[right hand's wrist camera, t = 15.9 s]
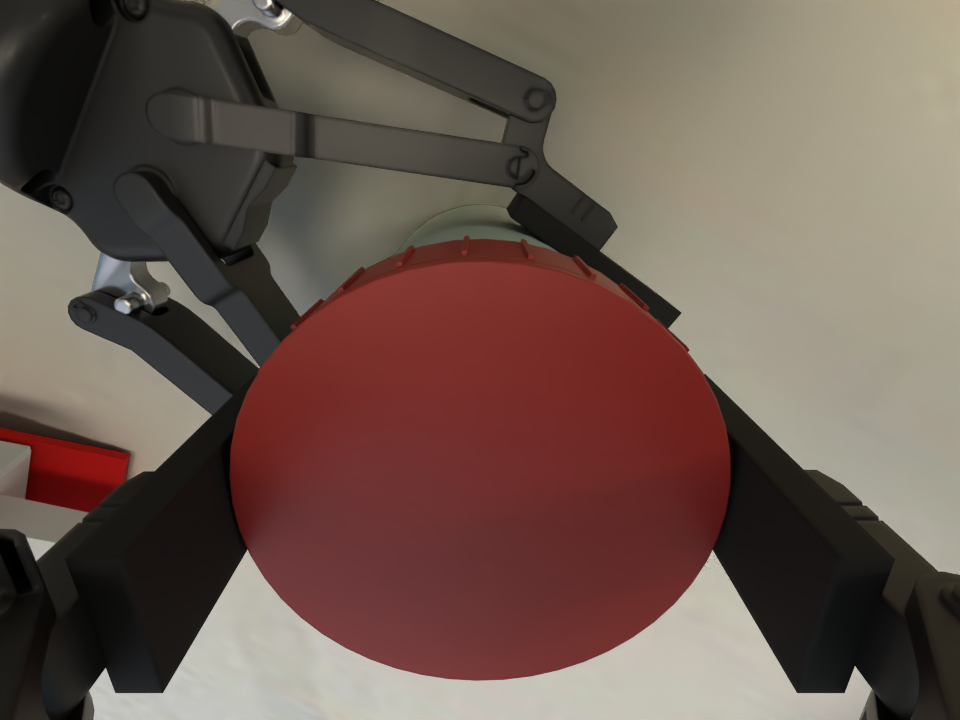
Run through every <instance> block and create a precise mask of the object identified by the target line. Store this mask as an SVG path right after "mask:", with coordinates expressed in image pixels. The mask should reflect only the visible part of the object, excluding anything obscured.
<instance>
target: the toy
mask: <svg viewBox="0 0 960 720" xmlns="http://www.w3.org/2000/svg"><path fill="white" fill-rule="evenodd" d="M129 456H130V454H127V453H123V452H118V451H113V450H108V449H103V448H98V447H93V446H88V445H83V444H78V443H73V442H69V441H64V440H59V439H54V438H49V437H44V436H39V435H34V434H29V433H24V432H20V431H15V430H10V429H5V428H0V529H16V530H18V531H20V532H21V533H23V534H25V535H26V538H27V540H28V543H29V545H30V548H31V550H32V553H33V555H34V557H35V560H36V561H37V560H38V559H39V558H40V557H41V556H42V555H43V554H44V553H46V552H47V551H48V550H49V549H50V548H51V547H52V546H53V545H54V544H55V543H56V542H58V541H59V540H60V539H61V538H62V537H63V536H64V535H65V534H66V533H67V532H69V531H70V530H71V529H72V528H73V527H74V526H75V525H76V524H77V523H82V519H83V518H84V517H85V516H86V515H87V514H88V513H89V512H90V511H91V510H93V509H94V508H98V506H99V505H98V504H99V503H100V502H101V501H102V500H103V499H105V498H106V497H107V496H108V495H109V494H110V493H111V492H112V491H113V490H114V489H115V488H117V487H118V486H119V485H121V484H123V483H125V478H126V473H127V467H128V462H129Z"/></svg>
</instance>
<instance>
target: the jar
mask: <svg viewBox="0 0 960 720" xmlns="http://www.w3.org/2000/svg"><path fill="white" fill-rule="evenodd" d="M464 236H469V238H470V239H494V240H506V241H516V242H521V239H524V240H526V241H527V243H528V244H530V245H534V246H539V247H543V248H547V249H550V250H553V251H555V252H557V251H556V250H555V249H553V248H552V247H550V246H549V245H548V244H546V243H545V242H544V241H542V240H541V239H539V238H538V237H537V236H535V235H534V234H533V233H531V232H530V231H528V230H527V229H526V228H524V227H523V226H521V225H520V224H519V223H517V222H516V221H515V220H513V219H512V218H510V216H509V213H508V211H507V209H506V208H503V207H498V206H493V205H468V206H463V207H458V208H454V209H451V210H448V211H445V212H443V213H441V214H439V215H437V216H435V217H433V218H431V219H430V220H428V221H427V222H426V223H424V224H423V225H421V226H420V227H419V228H418V229H417V230H416V231H415V232H414V233H413V234H412V235H411V236H410V237H409V238H408V240H407V241H406V242H405V243H404V244H403V245H402V247H401V248H400V249H399V250H398V251H397V252H396V254H399V253H402V252H405V250H406V249H407V248H408V247H409V246H411V245H413V246H414V248H417V247H421V246H424V245H430V244H435V243H441V242H446V241H452V240H464ZM558 253H559V252H558ZM396 254H395V255H396Z"/></svg>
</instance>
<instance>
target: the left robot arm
mask: <svg viewBox="0 0 960 720" xmlns="http://www.w3.org/2000/svg"><path fill="white" fill-rule="evenodd" d="M303 23H306V24H307V25H308V26H310V27H311V28H312V29H314V30H315V31H317V32H318V33H320V34H321V35H323V36H324V37H326V38H327V39H329V40H331V41H333V42H335V43H337V44H339V45H341V46H344V47H346V48H348V49H350V50H353V51H355V52H357V53H359V54H362V55H364V56H366V57H368V58H371V59H373V60H375V61H377V62H380V63H382V64H384V65H386V66H389V67H391V68H393V69H396V70H398V71H400V72H402V73H405V74H407V75H409V76H411V77H414V78H416V79H418V80H420V81H423V82H425V83H427V84H429V85H432V86H434V87H436V88H438V89H441V90H443V91H445V92H448V93H450V94H452V95H454V96H457V97H459V98H461V99H463V100H466V101H468V102H470V103H472V104H475V105H477V106H479V107H481V108H484V109H486V110H488V111H490V112H493V113H495V114H497V115H500V116H502V117H504V118H506V119H507V122H506V126H505V130H504V134H503V138H502V142H501V143H496V142H490V141H483V140H477V139H470V138H464V137H457V136H450V135H444V134H437V133H431V132H424V131H418V130H411V129H404V128H398V127H391V126H385V125H378V124H371V123H365V122H358V121H352V120H345V119H339V118H332V117H325V116H319V115H313V114H307V113H301V112H295V111H289V110H283V109H279V107H278V105H277V103H276V101H275V99H274V96H273V94H272V92H271V90H270V87H269V85H268V83H267V81H266V78H265V76H264V74H263V72H262V70H261V67H260V65H259V63H258V61H257V58H256V56H255V54H254V52H253V49H252V47H251V45H250V43H249V41H248V39H247V36H248V35H249V34H250V33H251V32H252V31H254V30H256V29H259V28H265V29H269V30H271V31H273V32H275V33H277V34H279V35H282V36H290V35H293V34H294V33H296V32H297V31H298V30H299V29H300V27H301V26H302V24H303ZM555 104H556V93H555V89H554V88H553V86H552V84H551V83H550V82H549V81H548V80H546V79H545V78H543V77H541V76H539V75H537V74H535V73H532V72H530V71H528V70H526V69H524V68H521V67H519V66H517V65H515V64H513V63H511V62H508V61H506V60H504V59H502V58H500V57H498V56H495V55H493V54H491V53H489V52H487V51H484V50H482V49H480V48H478V47H476V46H474V45H471V44H469V43H467V42H465V41H463V40H460V39H458V38H456V37H454V36H452V35H450V34H447V33H445V32H443V31H441V30H439V29H437V28H434V27H432V26H430V25H428V24H426V23H423V22H421V21H419V20H417V19H415V18H413V17H410V16H408V15H406V14H404V13H402V12H399V11H397V10H395V9H393V8H391V7H389V6H386V5H384V4H382V3H380V2H378V1H376V0H207V1H206V3H205V4H204V5H203V4H201V3H197V2H191V1H180V0H0V183H2V184H3V185H5V186H7V187H8V188H10V189H12V190H14V191H15V192H17V193H19V194H21V195H23V196H25V197H27V198H30V199H32V200H34V201H36V202H39V203H41V204H43V205H46V206H48V207H50V208H52V209H54V210H57V211H59V212H61V213H63V214H64V215H66V216H68V217H69V218H70V219H71V220H72V221H74V222H75V223H76V224H77V225H78V226H79V227H80V228H81V230H82V231H83V232H84V233H85V234H86V236H87V237H88V238H89V240H90V241H91V242H92V244H93V245H94V246H95V247H96V248H97V249H98V250H100V251H101V254H100V258H99V262H98V266H97V270H96V274H95V278H94V282H93V286H92V290H91V292H90V293H87V294H84V295H81V296H79V297H76V298H74V299H73V300H71V301H70V303H69V305H68V313H69V316H70V318H71V320H72V321H73V322H74V323H75V324H76V325H77V326H79V327H80V328H82V329H84V330H86V331H88V332H91V333H93V334H95V335H98V336H100V337H102V338H105V339H107V340H109V341H112V342H114V343H116V344H118V345H121V346H123V347H125V348H128V349H130V350H132V351H133V352H135V353H136V354H137V355H138V356H139V357H141V358H142V359H143V360H144V361H146V362H147V363H148V364H149V365H151V366H152V367H153V368H154V369H156V370H157V371H158V372H159V373H161V374H162V375H163V376H164V377H166V378H167V379H168V380H169V381H170V382H172V383H173V384H174V385H175V386H177V387H178V388H179V389H180V390H182V391H183V392H184V393H185V394H187V395H188V396H189V397H190V398H192V399H193V400H194V401H195V402H197V403H198V404H199V405H200V406H201V407H203V408H204V409H205V410H206V411H208V412H209V413H210V414H211V415H213V414H214V413H215V412H216V411H217V410H218V409H219V408H221V407H222V406H223V405H224V404H225V403H226V402H227V401H228V400H229V399H230V398H231V397H232V396H233V395H234V394H235V393H236V392H237V391H238V390H239V389H240V388H241V387H242V386H243V385H244V384H245V383H246V382H247V381H248V380H249V379H250V378H251V377H252V376H253V375H254V374H258V373H257V372H258V370H259V368H257V367H256V366H255V365H254V364H253V363H252V362H250V361H249V360H248V359H247V358H246V357H245V356H244V355H242V354H241V353H240V352H239V351H238V350H237V349H235V348H234V347H233V346H232V345H231V344H230V343H228V342H227V341H226V340H225V339H224V338H223V337H222V336H220V335H219V334H218V333H217V332H216V331H215V330H213V329H212V328H211V327H210V326H209V325H208V324H206V323H205V322H204V321H203V320H202V319H201V318H199V317H198V316H197V315H196V314H194V313H193V312H192V311H191V310H189V309H188V308H186V307H185V306H183V305H181V304H180V303H178V302H176V301H175V300H173V299H171V298H169V297H168V296H169V294H170V288H169V286H168V285H167V284H165V283H163V282H158V281H157V280H155V279H154V278H153V277H152V276H151V275H150V274H149V271H148V269H147V266H146V262H155V261H169V262H170V263H171V265H172V266H173V267H174V269H175V270H176V271H177V273H178V274H179V275H180V276H181V278H182V279H183V280H184V282H185V283H186V284H187V286H188V287H189V288H190V289H191V291H192V292H193V293H194V295H195V296H196V297H197V298H198V299H199V300H200V301H201V302H203V303H204V304H207V305H210V306H213V307H214V308H215V309H216V310H217V311H218V312H219V313H220V315H221V316H222V317H223V319H224V320H225V321H226V323H227V324H228V325H229V327H230V328H231V329H232V331H233V332H234V333H235V334H236V336H237V337H238V338H239V340H240V341H241V342H242V344H243V345H244V346H245V348H246V349H247V350H248V352H249V353H250V354H251V356H252V357H253V358H254V359H255V361H256V362H257V363H258V365H259V366H260V367H261V366H262V365H263V364H264V363H265V362H266V360H267V359H268V358H269V357H270V355H271V354H272V353H273V352H274V350H275V349H276V348H277V347H278V346H279V344H280V343H281V342H282V341H283V339H284V338H285V337H287V336H288V335H289V334H290V333H291V332H292V331H293V329H292V328H290V326H291V325H292V324H293V323H295V322H296V321H297V320H298V319H299V318H300V316H299V314H298V313H297V311H296V310H295V309H294V307H293V306H292V304H291V303H290V302H289V300H288V299H287V297H286V296H285V294H284V293H283V292H282V290H281V289H280V287H279V286H278V284H277V283H276V282H275V280H274V279H273V277H272V275H271V273H270V265H269V262H268V261H267V259H266V257H265V256H264V255H263V253H262V252H261V250H260V249H259V247H258V246H257V245H256V242H258V241H259V239H260V237H261V235H262V233H263V232H264V230H265V228H266V226H267V224H268V219H269V214H270V209H271V204H272V201H273V200H274V199H275V198H276V197H277V196H278V195H279V194H280V193H281V192H282V191H283V190H284V189H285V188H286V187H287V186H288V184H289V182H290V180H291V178H292V176H293V174H294V173H295V171H296V169H297V167H298V166H296V165H295V164H293V161H294V156H296V157H305V158H314V159H321V160H328V161H335V162H342V163H348V164H355V165H362V166H369V167H375V168H382V169H389V170H396V171H403V172H409V173H416V174H423V175H430V176H436V177H443V178H450V179H457V180H463V181H470V182H477V183H484V184H491V185H497V186H504V187H510V188H512V189H513V190H514V191H516V192H517V194H516V196H515V197H514V199H513V200H512V202H511V203H510V204H509V206H508V207H507V211H508V213H509V216H510V218H512V219H513V220H515V221H516V222H517V223H519V224H520V225H521V226H523V227H524V228H526V229H527V230H528V231H530V232H531V233H533V234H534V235H535V236H537V237H538V238H539V239H541V240H542V241H544V242H545V243H546V244H548V245H549V246H550V247H552V248H553V249H555V250H556V251H557V252H559V253H561V254H563V255H566V256H569V257H572V258H574V256H575V255H576V256H578V257H580V258H581V259H582V260H583V261H584V263H585V264H586V265H587V266H589V267H591V268H593V269H595V270H597V271H599V272H601V273H602V274H603V275H605V276H606V277H607V278H609V279H610V280H612V281H613V282H614V283H616V284H617V285H619V284H620V283H623V284H624V285H625V286H626V287H627V288H628V289H629V290H631V291H632V292H633V293H634V294H635V295H636V296H637V297H638V298H639V299H641V300H642V301H643V302H644V303H645V304H646V305H647V306H648V307H649V308H650V309H649V310H648V311H647V312H648V313H650V314H651V315H652V316H653V317H654V318H655V319H658V320H659V321H660V322H661V323H662V324H663V325H664V326H665V327H666V328H667V329H668V328H669V327H670V326H671V324H672V323H673V322H674V321H675V320H676V319H677V318H678V316H679V315H680V314H681V312H680V311H679V310H677V309H676V308H675V307H674V306H672V305H671V304H670V303H668V302H667V301H666V300H665V299H663V298H662V297H661V296H659V295H658V294H657V293H656V292H654V291H653V290H652V289H650V288H649V287H648V286H646V285H645V284H643V283H642V282H641V281H639V280H638V279H637V278H635V277H634V276H633V275H631V274H630V273H629V272H627V271H626V270H625V269H623V268H622V267H621V266H619V265H618V264H616V263H615V262H614V261H612V260H611V259H610V258H608V257H607V256H606V255H604V254H603V253H602V252H600V249H601V248H602V247H603V246H604V244H605V243H606V242H607V240H608V239H609V238H610V236H611V235H612V234H613V233H614V231H615V230H616V229H617V225H616V223H615V221H614V219H613V218H612V216H611V214H610V212H608V211H607V210H606V209H604V208H603V207H602V206H600V205H599V204H598V203H596V202H595V201H594V200H593V199H591V198H590V197H589V196H587V195H586V194H585V193H583V192H582V191H581V190H579V189H578V188H577V187H576V186H574V185H573V184H572V183H570V182H569V181H568V180H566V179H565V178H564V177H562V176H561V175H560V174H559V173H557V172H556V171H555V170H553V169H552V168H551V167H550V166H549V165H548V163H547V161H546V160H545V157H544V154H543V143H544V138H545V134H546V131H547V127H548V124H549V120H550V116H551V113H552V111H553V110H554V108H555ZM221 259H223V260H224V261H225V263H226V264H225V263H223V261H222V260H221Z"/></svg>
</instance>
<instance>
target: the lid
mask: <svg viewBox="0 0 960 720" xmlns="http://www.w3.org/2000/svg"><path fill="white" fill-rule="evenodd" d="M649 309H650V308H649V307H648V306H647V305H646V304H645V303H644V302H643V301H642V300H641V299H639V298H638V297H637V296H636V295H635V294H634V293H633V292H632V291H631V290H629V289H628V288H627V287H626V286H625V285H624V284H623V283H620V284H619V285H617V284H616V283H614V282H613V281H612V280H610V279H609V278H607V277H606V276H605V275H603V274H602V273H601V272H599V271H597V270H595V269H593V268H591V267H589V266H587V265H586V264H585V263H584V261H583V260H582V259H581V258H580V257H578V256H576V255H575V256H574V258H572V257H569V256H566V255H563V254H561V253H558V252H555V251H553V250H550V249H547V248H543V247H539V246H534V245H530V244H528V243H527V241H526V240H524V239H521V242H516V241H506V240H494V239H470V238H469V236H464V240H452V241H446V242H441V243H435V244H430V245H424V246H421V247H417V248H414V246H413V245H411V246H409V247H408V248H407V249H406V250H405V252H402V253H399V254H396V255H393V256H391V257H389V258H387V259H385V260H383V261H381V262H379V263H377V264H375V265H373V266H371V267H369V268H367V269H364V268H363V267H361V268H359V269H358V270H357V271H356V272H355V273H354V274H353V275H352V276H351V277H350V278H349V279H348V280H346V281H345V282H344V283H343V284H342V285H341V286H340V287H339V288H338V289H337V290H336V291H335V292H334V293H333V294H332V295H331V296H329V297H328V298H327V299H326V300H325V301H323V300H322V299H320V300H319V301H318V302H317V303H316V304H314V305H313V306H312V307H311V308H310V309H309V310H308V311H307V312H306V313H304V314H303V315H302V316H301V317H300V318H299V319H298V320H297V321H296V322H295V323H293V324H292V325H291V326H290V328H292V329H293V331H292V332H291V333H290V334H289V335H288V336H287V337H285V338H284V339H283V341H282V342H281V343H280V344H279V346H278V347H277V348H276V349H275V350H274V352H273V353H272V354H271V355H270V357H269V358H268V359H267V360H266V362H265V363H264V364H263V365H262V366H261V367H260V368H259V370H258V372H257V373H258V374H257V376H256V377H255V379H254V381H253V383H252V384H251V386H250V388H249V390H248V391H247V394H246V396H245V399H244V401H243V404H242V407H241V409H240V412H239V414H238V417H237V420H236V424H235V429H234V434H233V439H232V444H231V450H230V473H229V479H230V487H231V496H232V505H233V508H234V512H235V515H236V519H237V523H238V526H239V530H240V533H241V535H242V537H243V539H244V542H245V544H246V546H247V548H248V551H249V553H250V555H251V557H252V559H253V560H254V562H255V563H256V565H257V567H258V568H259V570H260V572H261V573H262V575H263V576H264V578H265V579H266V580H267V582H268V583H269V584H270V585H271V587H272V588H273V589H274V590H275V592H276V593H277V594H278V595H279V596H280V598H281V599H282V600H283V601H284V602H285V603H286V604H287V605H288V606H289V607H290V608H291V609H293V610H294V611H295V612H296V613H297V614H298V615H299V616H300V617H301V618H302V619H304V620H305V621H306V622H307V623H309V624H310V625H311V626H313V627H314V628H315V629H317V630H318V631H319V632H321V633H322V634H323V635H325V636H327V637H328V638H330V639H332V640H333V641H335V642H337V643H338V644H340V645H342V646H343V647H345V648H347V649H349V650H351V651H354V652H356V653H358V654H360V655H362V656H364V657H366V658H368V659H371V660H374V661H376V662H379V663H382V664H385V665H388V666H391V667H393V668H397V669H401V670H405V671H409V672H413V673H417V674H421V675H427V676H433V677H440V678H446V679H459V680H476V681H477V680H505V679H513V678H521V677H529V676H534V675H539V674H543V673H548V672H552V671H557V670H560V669H563V668H566V667H569V666H573V665H576V664H579V663H582V662H585V661H587V660H589V659H592V658H594V657H596V656H598V655H601V654H603V653H605V652H608V651H610V650H611V649H613V648H615V647H617V646H618V645H620V644H622V643H624V642H626V641H627V640H629V639H631V638H633V637H634V636H635V635H637V634H638V633H640V632H641V631H642V630H644V629H645V628H647V627H648V626H649V625H651V624H652V623H654V622H655V621H656V620H657V619H658V618H659V617H660V616H661V615H663V614H664V613H665V612H666V611H667V610H668V609H669V608H670V607H671V606H672V605H674V604H675V602H676V601H677V600H678V599H679V598H680V597H681V596H682V594H683V593H684V592H685V591H686V590H687V589H688V587H689V586H690V585H691V584H692V583H693V581H694V580H695V578H696V577H697V575H698V574H699V572H700V571H701V569H702V568H703V566H704V565H705V563H706V562H707V560H708V558H709V555H710V553H711V551H712V549H713V547H714V545H715V543H716V541H717V539H718V537H719V534H720V530H721V527H722V524H723V521H724V518H725V515H726V511H727V505H728V499H729V492H730V486H731V455H730V449H729V442H728V436H727V430H726V426H725V423H724V420H723V417H722V414H721V411H720V408H719V405H718V402H717V399H716V397H715V395H714V393H713V391H712V389H711V388H710V386H709V384H708V382H707V380H706V378H705V376H704V374H703V372H702V371H701V369H700V368H699V367H698V365H697V364H696V363H695V361H694V360H693V359H692V357H691V356H690V355H689V353H688V351H689V349H688V347H687V346H686V345H685V344H684V343H683V342H682V341H680V340H679V339H678V338H677V337H676V336H675V335H674V334H673V333H672V332H671V331H670V330H669V329H667V328H666V327H665V326H664V325H663V324H662V323H661V322H660V321H659V320H658V319H655V318H654V317H653V316H652V315H651V314H650V313H648V312H647V311H648V310H649Z"/></svg>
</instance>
